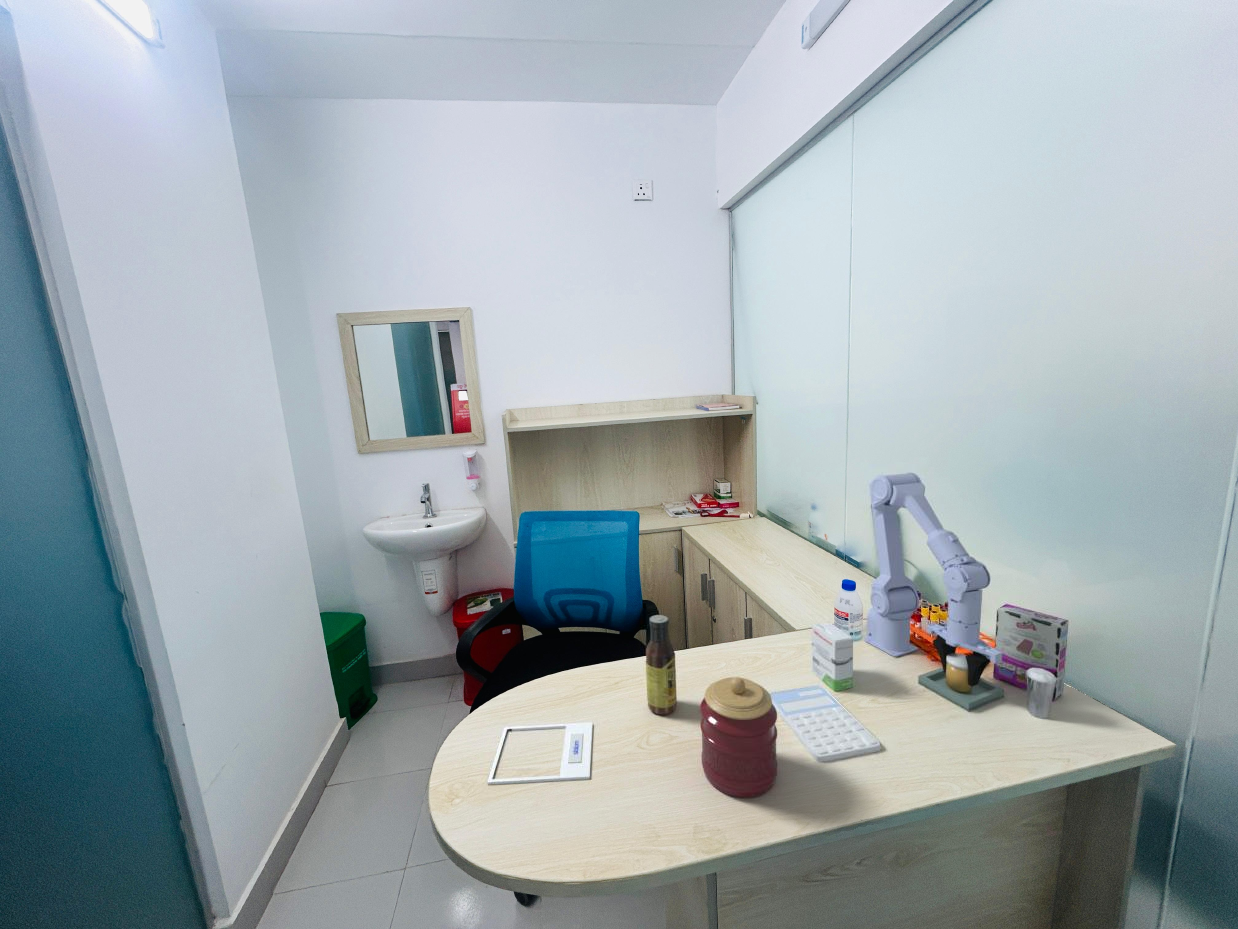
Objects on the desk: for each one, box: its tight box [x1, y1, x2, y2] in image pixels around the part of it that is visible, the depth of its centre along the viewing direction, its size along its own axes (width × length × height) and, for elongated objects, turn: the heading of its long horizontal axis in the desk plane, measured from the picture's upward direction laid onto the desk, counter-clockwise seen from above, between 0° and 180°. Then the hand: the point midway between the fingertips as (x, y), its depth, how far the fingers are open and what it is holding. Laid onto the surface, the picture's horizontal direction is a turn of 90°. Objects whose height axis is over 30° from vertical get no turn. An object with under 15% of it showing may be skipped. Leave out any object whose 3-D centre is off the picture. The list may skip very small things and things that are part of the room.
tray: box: [917, 666, 1005, 712], centre depth 108 cm, size 11×11×2 cm
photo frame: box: [487, 721, 593, 786], centre depth 96 cm, size 15×1×18 cm
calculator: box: [768, 684, 882, 763], centre depth 101 cm, size 13×20×2 cm, turn 11°
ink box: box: [811, 622, 854, 692], centre depth 114 cm, size 9×5×12 cm, turn 14°
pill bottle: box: [945, 652, 972, 692], centre depth 108 cm, size 5×5×6 cm
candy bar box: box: [992, 603, 1069, 702], centre depth 108 cm, size 11×5×16 cm, turn 33°
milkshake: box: [1026, 668, 1063, 719], centre depth 99 cm, size 4×5×10 cm
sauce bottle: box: [645, 614, 677, 716], centre depth 106 cm, size 7×6×20 cm
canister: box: [699, 676, 778, 799], centre depth 88 cm, size 13×13×18 cm
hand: (960, 678), depth 108 cm, fingers closed on pill bottle, 5 cm apart
